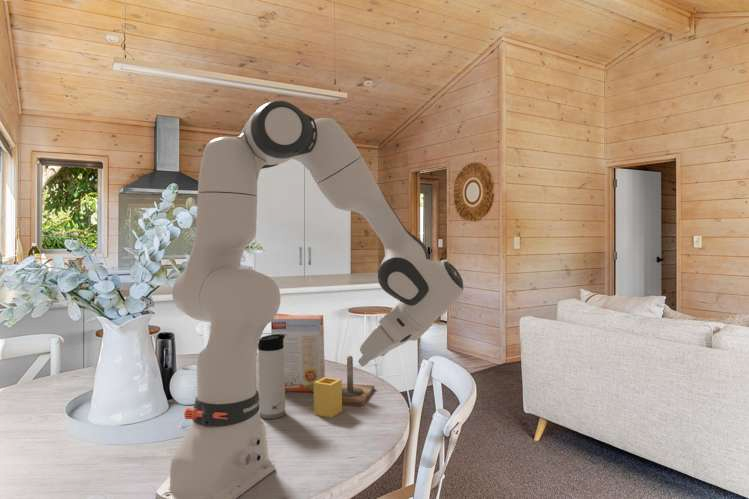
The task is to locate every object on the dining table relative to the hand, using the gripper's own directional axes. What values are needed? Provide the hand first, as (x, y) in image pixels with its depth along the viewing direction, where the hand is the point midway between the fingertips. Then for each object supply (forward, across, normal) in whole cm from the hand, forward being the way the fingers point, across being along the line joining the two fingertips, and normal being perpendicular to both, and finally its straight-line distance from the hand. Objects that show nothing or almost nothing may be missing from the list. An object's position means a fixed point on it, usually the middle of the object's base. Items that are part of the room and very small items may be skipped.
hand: (371, 358), depth 124 cm
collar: (+19, 0, +2) cm, 19 cm away
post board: (+20, -13, +1) cm, 24 cm away
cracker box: (+32, -12, -10) cm, 36 cm away
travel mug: (+28, +7, -6) cm, 29 cm away
